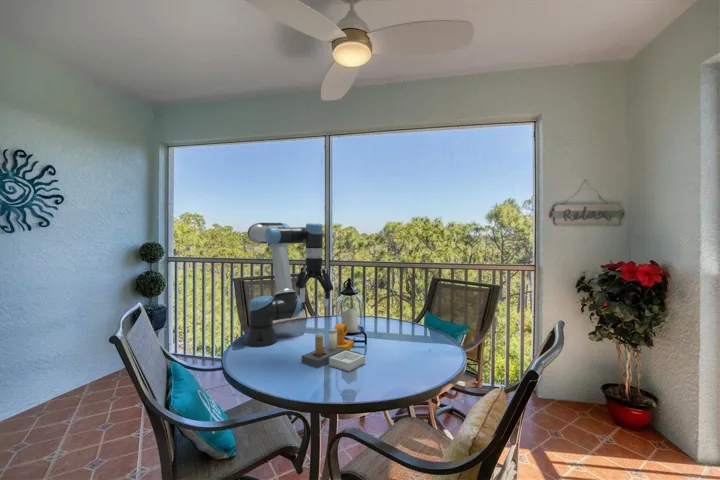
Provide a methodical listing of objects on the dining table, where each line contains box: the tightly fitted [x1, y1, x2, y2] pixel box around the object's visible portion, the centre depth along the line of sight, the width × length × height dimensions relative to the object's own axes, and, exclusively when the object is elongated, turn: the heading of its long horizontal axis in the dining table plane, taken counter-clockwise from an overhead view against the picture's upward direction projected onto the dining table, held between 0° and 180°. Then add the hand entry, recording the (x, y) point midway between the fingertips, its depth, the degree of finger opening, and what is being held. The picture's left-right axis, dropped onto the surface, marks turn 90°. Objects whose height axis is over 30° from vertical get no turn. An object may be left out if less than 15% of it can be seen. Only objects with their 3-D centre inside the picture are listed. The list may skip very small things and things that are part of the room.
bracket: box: [334, 323, 354, 352], centre depth 170 cm, size 11×7×12 cm, turn 160°
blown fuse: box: [314, 332, 325, 357], centre depth 153 cm, size 4×4×12 cm
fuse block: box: [301, 327, 345, 369], centre depth 156 cm, size 18×10×12 cm, turn 143°
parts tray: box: [328, 350, 366, 373], centre depth 149 cm, size 11×11×4 cm
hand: (313, 304), depth 157 cm, fingers open, 13 cm apart
